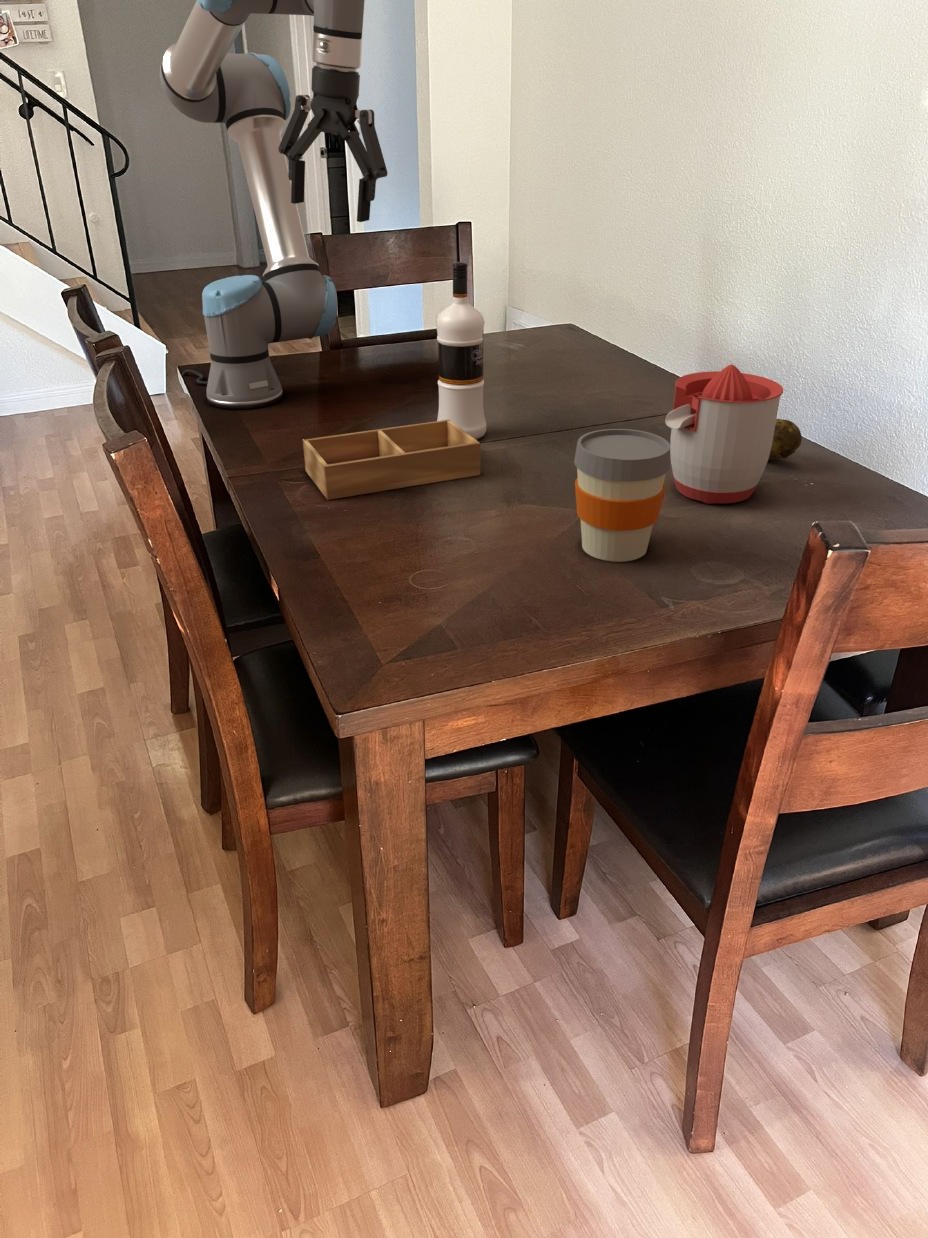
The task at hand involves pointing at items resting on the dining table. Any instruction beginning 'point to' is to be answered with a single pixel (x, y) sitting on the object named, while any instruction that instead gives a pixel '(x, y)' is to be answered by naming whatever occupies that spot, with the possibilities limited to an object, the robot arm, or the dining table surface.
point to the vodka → (461, 359)
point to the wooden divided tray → (390, 458)
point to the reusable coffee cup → (619, 490)
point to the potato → (785, 439)
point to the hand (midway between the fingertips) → (329, 211)
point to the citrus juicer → (721, 433)
